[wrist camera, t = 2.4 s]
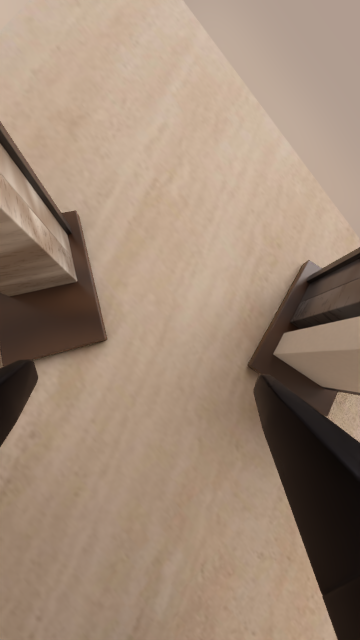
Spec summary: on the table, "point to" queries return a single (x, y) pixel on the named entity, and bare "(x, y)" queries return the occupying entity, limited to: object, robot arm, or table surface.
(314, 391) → the grey book shelf
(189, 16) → the table surface
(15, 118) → the table surface
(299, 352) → the white book
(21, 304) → the white book shelf
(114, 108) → the table surface
